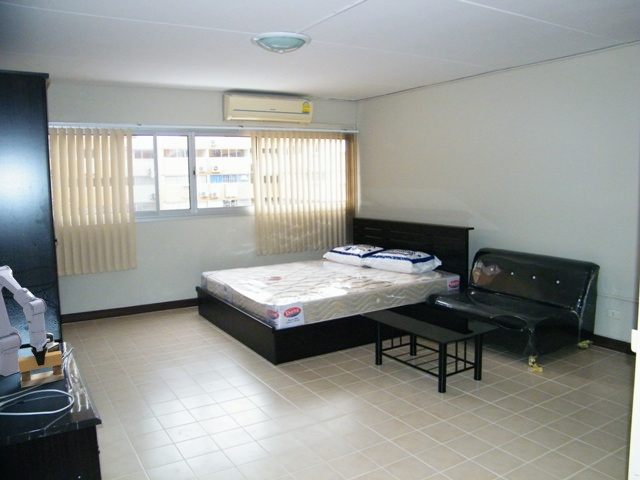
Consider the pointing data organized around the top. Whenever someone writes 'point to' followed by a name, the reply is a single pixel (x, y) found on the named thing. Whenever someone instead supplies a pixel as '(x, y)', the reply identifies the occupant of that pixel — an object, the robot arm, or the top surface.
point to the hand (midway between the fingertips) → (40, 363)
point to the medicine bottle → (51, 344)
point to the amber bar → (31, 363)
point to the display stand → (41, 377)
